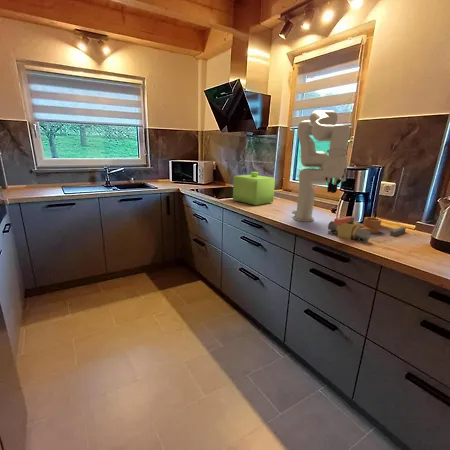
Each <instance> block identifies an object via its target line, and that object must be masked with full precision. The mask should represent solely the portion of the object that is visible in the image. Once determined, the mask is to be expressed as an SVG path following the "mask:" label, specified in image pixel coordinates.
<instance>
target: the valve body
mask: <svg viewBox="0 0 450 450" xmlns="http://www.w3.org/2000/svg"><path fill="white" fill-rule="evenodd" d="M360 224H361V222H359V221H355V220H354V222H347V223H343V224H342V225H335V224H334V220H331V221H329V223H328V225H327V227H328V234H330V235H334V234H337V237H339V238H342V239H346V240H349V241H351V240H357V242H358V243H360V244H364V243H366V242H368V241H369V240H370V238H371V236H372V233H371V232H370V231H368V230H364V229H361V228H360V227H359V226H360Z"/></svg>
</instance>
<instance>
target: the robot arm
mask: <svg viewBox="0 0 450 450" xmlns="http://www.w3.org/2000/svg"><path fill="white" fill-rule="evenodd" d="M337 122H338V114H337V113H336V111H335V110H325V109H324V110H322V109H317V110H314V111H313V112H312V113H311V114H310V115H309V119H307V120H302V121H300V122H299V123H298V126H297V137H298V140H299V145H300V163H301V166H302V167H305V168H303V169H301V170H299V173H298V195H297V196H298V197H297V202H296V203H297V204H296V210H292V212H291V214H293V216H292V217H293V220H294V221H298V222H302V223H303V222H304V223H306V222H307V223H311V222H314V221H315V218H314V217H313V210H314V202H315V195H316V194H315V193H316V192H315V189H314V188H313V186H315V185H317V186H319V185H320V186H321V185H322V186H325V185H327V189H326V190H327V193H331V194H335V193H337V191H338V186H339V185H340V184H341V182H346V181H347V177H346V176H347V171H348V157H347V156H346V155H347V152H348V150H347V149H348V145H349V144H348V143H349V137H350V130H351V127H350V125H349V124H337ZM311 136H312V137H313V139H312V138H311ZM314 139H315V140H316V141H318V142H330V143H329V149H328V150H326V152H325V151H316V142H315V141H314ZM333 179H334V180H333ZM312 185H313V186H312Z"/></svg>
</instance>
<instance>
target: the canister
mask: <svg viewBox="0 0 450 450" xmlns="http://www.w3.org/2000/svg"><path fill="white" fill-rule="evenodd" d="M232 183H233V184H232V185H233V187H232V189H233V190H232V200H233V201H237V202H241V203H245V204H249V205H252V206H253V205H254V206H260V205H264V204H269V203H273V202H274V197H275V196H274V195H275V185H276V178H275V177H271V176H265V175H259V172H257V171H250V174H242V175H234V176H233V181H232Z"/></svg>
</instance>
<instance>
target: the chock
mask: <svg viewBox="0 0 450 450" xmlns="http://www.w3.org/2000/svg"><path fill="white" fill-rule="evenodd" d="M406 229H407V228H406V227H404V226H401V227H397V228H395V229H392V230H390V233H389V234H390V235H389V236H391V237H396V236H399V235H402V234H404V233H405V232H406Z"/></svg>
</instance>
